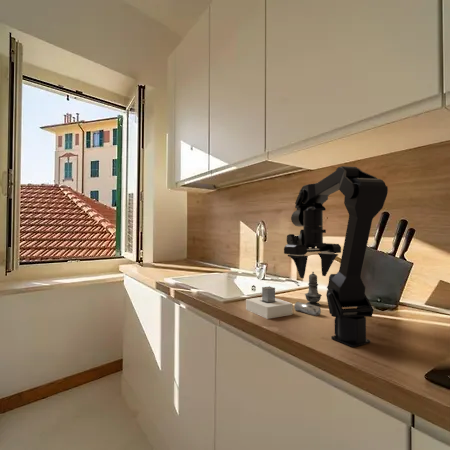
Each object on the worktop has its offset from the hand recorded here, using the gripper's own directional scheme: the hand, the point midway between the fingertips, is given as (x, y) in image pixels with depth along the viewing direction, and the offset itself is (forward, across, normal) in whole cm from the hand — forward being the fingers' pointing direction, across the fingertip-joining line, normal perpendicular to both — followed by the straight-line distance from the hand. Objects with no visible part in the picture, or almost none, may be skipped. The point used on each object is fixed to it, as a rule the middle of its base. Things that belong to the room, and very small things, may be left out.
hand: (313, 277), depth 90 cm
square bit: (+12, +8, -12) cm, 19 cm away
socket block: (+12, +8, -12) cm, 19 cm away
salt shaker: (+13, -12, -12) cm, 21 cm away
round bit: (+12, -1, -5) cm, 13 cm away
